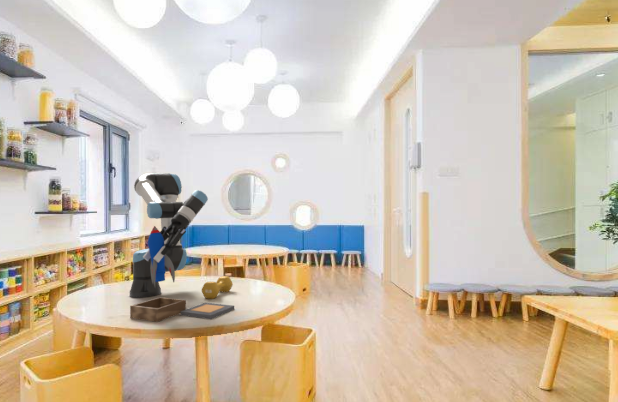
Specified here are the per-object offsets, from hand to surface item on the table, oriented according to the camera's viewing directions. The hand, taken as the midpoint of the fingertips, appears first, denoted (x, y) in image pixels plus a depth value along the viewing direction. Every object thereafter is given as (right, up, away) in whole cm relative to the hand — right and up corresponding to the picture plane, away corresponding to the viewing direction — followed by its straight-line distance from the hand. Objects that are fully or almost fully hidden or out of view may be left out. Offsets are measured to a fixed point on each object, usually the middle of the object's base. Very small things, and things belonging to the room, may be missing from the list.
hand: (150, 259), depth 162 cm
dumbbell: (+19, -24, +38) cm, 49 cm away
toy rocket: (+2, -11, +3) cm, 12 cm away
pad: (+22, -23, +6) cm, 33 cm away
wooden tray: (+2, -24, +3) cm, 24 cm away
